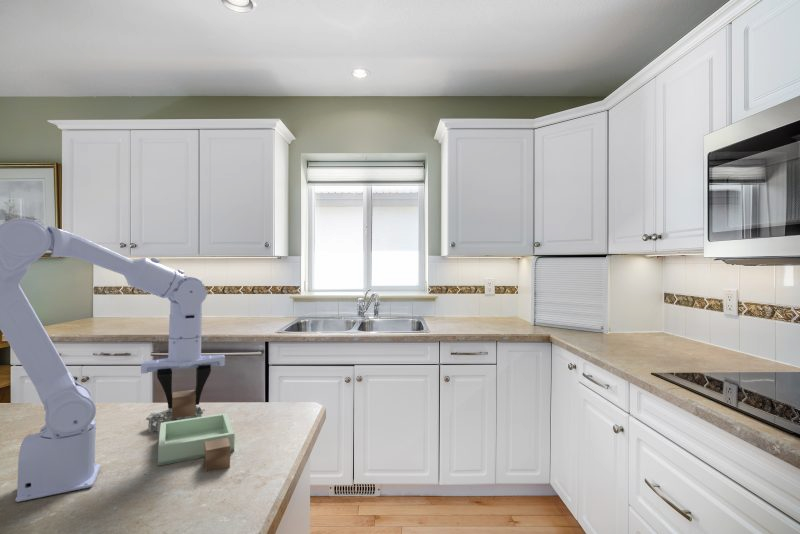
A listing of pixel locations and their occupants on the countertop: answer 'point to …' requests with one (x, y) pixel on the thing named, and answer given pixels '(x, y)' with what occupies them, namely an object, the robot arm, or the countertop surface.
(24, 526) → the countertop surface
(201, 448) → the dish
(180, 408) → the block
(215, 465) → the block
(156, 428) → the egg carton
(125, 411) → the countertop surface
